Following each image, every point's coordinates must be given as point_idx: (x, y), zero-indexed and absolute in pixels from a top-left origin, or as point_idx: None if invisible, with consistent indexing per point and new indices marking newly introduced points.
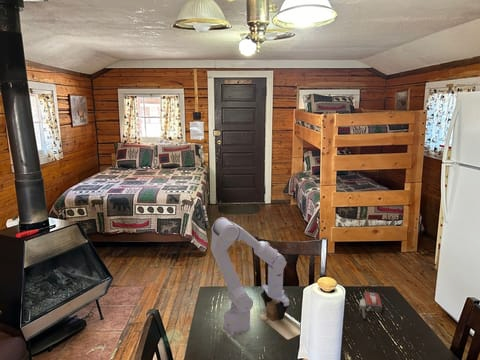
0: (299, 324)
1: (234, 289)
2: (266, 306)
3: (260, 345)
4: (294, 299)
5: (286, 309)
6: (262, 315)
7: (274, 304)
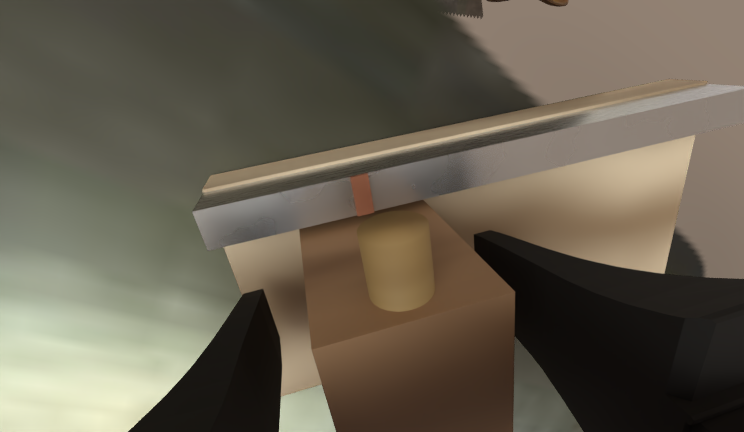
0: (678, 127)
1: None
2: (278, 392)
3: (547, 406)
4: None
5: (618, 272)
6: (297, 360)
7: (460, 421)
